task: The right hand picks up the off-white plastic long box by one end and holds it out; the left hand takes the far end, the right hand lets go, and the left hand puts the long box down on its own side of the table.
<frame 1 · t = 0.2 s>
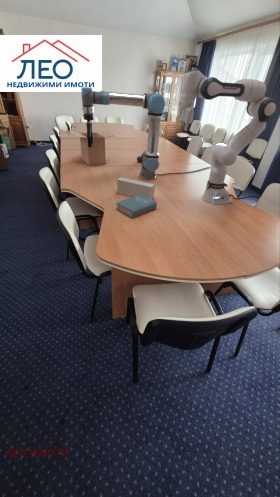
left hand: (90, 145, 173), 29 cm above the table, tool pointing down, fingers open, 13 cm apart
right hand: (183, 129, 142), 47 cm above the table, tool pointing down, fingers open, 8 cm apart
laser sight: (146, 163, 243), on the table
book: (136, 209, 152), on the table
box: (93, 161, 237), on the table
long box: (135, 195, 170), on the table
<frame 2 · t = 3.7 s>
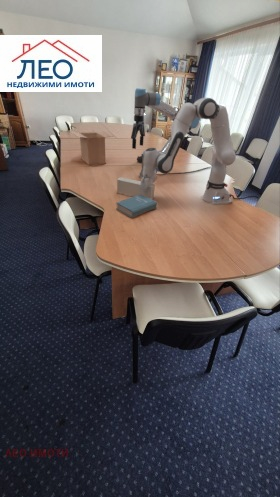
left hand: (137, 146, 170), 30 cm above the table, tool pointing down, fingers open, 13 cm apart
right hand: (147, 191, 164), 5 cm above the table, tool pointing down, fingers closed on long box, 6 cm apart
long box: (135, 195, 170), on the table, touching right hand
everything else where it was.
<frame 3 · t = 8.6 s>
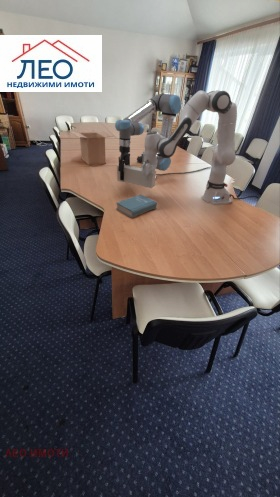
left hand: (124, 178, 167), 11 cm above the table, tool pointing down, fingers closed on long box, 6 cm apart
right hand: (148, 178, 158), 15 cm above the table, tool pointing down, fingers closed on long box, 6 cm apart
long box: (135, 183, 164), point 10 cm above the table, touching left hand, right hand
everything else where it was.
when the left hand's fingers open (2 cm above the table, at t = 14.4 s): long box stays where it is, on the table.
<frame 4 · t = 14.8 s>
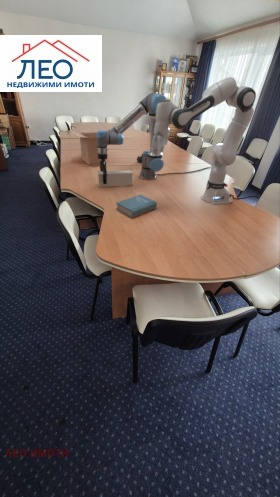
left hand: (103, 181, 181), 4 cm above the table, tool pointing down, fingers open, 12 cm apart
right hand: (158, 154, 146), 33 cm above the table, tool pointing down, fingers open, 8 cm apart
long box: (115, 184, 186), on the table
everything else where it was.
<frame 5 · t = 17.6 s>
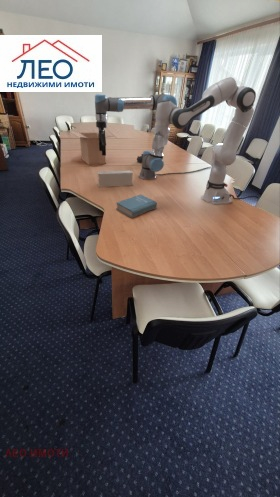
left hand: (102, 153, 168), 25 cm above the table, tool pointing down, fingers open, 13 cm apart
right hand: (158, 154, 146), 33 cm above the table, tool pointing down, fingers open, 8 cm apart
nothing on the table moved.
at the end: long box inside the target area (9.8 cm from its centre), on the table; the left hand is holding nothing; the right hand is holding nothing; long box at rest at the end (0.0 cm/s) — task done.
